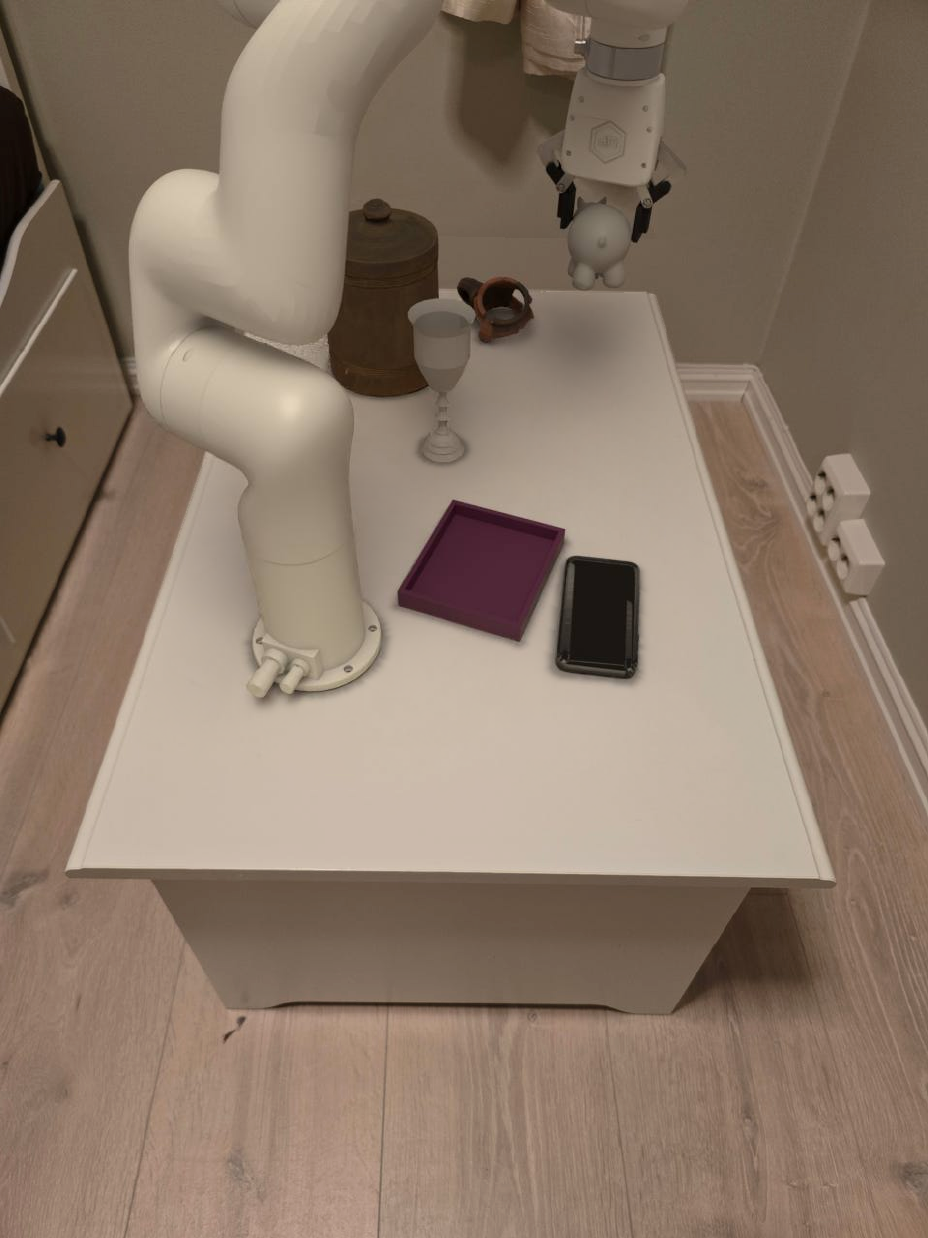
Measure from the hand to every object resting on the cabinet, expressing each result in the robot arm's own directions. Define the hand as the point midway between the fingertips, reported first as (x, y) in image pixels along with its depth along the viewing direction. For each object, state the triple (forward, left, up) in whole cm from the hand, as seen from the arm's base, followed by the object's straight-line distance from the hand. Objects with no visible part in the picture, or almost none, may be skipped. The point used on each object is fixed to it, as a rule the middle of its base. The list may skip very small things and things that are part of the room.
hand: (601, 230), depth 103 cm
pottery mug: (+9, +16, -21) cm, 28 cm away
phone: (-40, -13, -21) cm, 46 cm away
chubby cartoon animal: (0, +1, -5) cm, 5 cm away
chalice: (-20, +12, -21) cm, 31 cm away
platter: (-38, 0, -21) cm, 43 cm away
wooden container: (-6, +26, -21) cm, 34 cm away
